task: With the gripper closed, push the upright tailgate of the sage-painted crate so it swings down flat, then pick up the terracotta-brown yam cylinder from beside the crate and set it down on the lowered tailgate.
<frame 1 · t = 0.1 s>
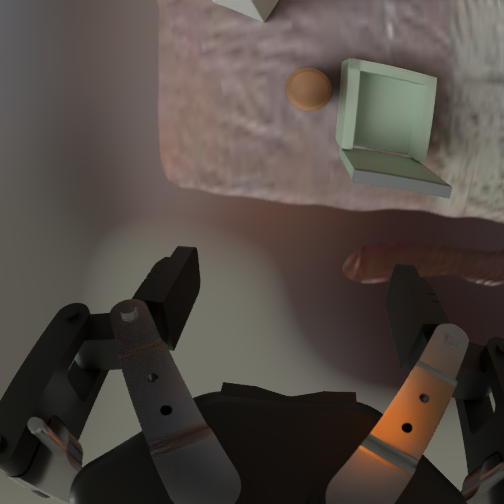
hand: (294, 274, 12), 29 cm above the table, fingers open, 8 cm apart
tailgate: (390, 167, 29), point 8 cm above the table, hinge at 0.0°
yam: (306, 88, 34), on the table
crate: (378, 106, 33), on the table
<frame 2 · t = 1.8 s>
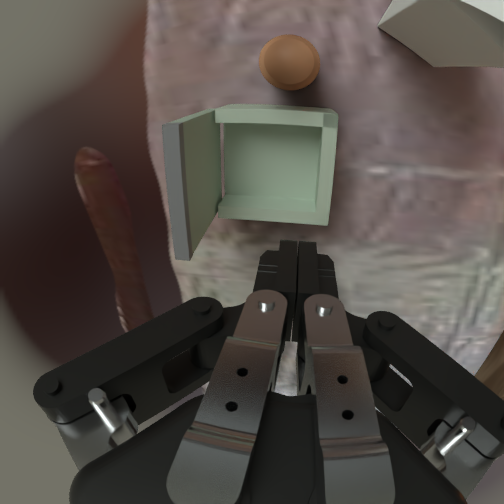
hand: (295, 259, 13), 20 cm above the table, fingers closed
tailgate: (199, 173, 24), point 8 cm above the table, hinge at 0.0°
yam: (291, 67, 26), on the table
milk carton: (419, 23, 21), on the table
crate: (278, 152, 31), on the table
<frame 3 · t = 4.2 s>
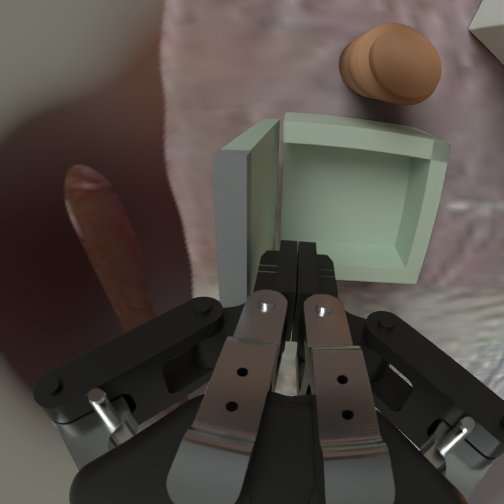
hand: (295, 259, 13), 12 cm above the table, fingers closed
tailgate: (256, 222, 16), point 8 cm above the table, hinge at 3.8°, touching gripper
yam: (370, 68, 18), on the table
crate: (347, 181, 23), on the table
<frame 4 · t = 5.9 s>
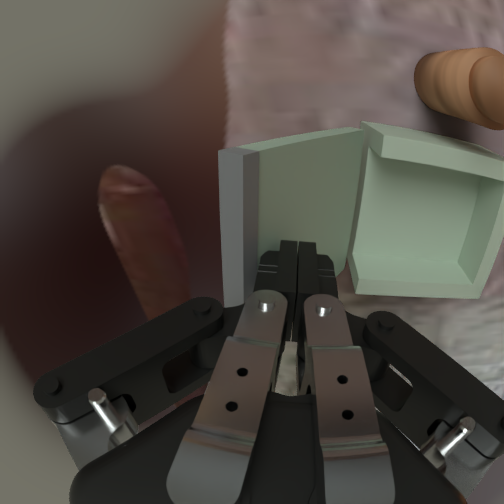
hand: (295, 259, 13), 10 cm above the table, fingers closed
tailgate: (305, 230, 16), point 8 cm above the table, hinge at 32.9°, touching gripper
yam: (441, 82, 17), on the table
crate: (414, 195, 21), on the table
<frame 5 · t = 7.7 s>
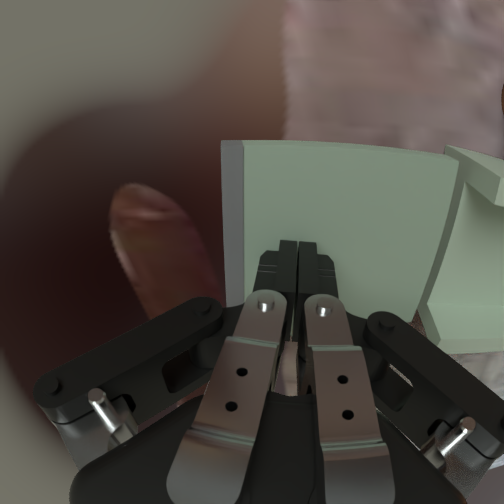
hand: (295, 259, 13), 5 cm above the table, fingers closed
tailgate: (341, 249, 14), point 4 cm above the table, hinge at 76.8°, touching gripper
crate: (489, 232, 16), on the table
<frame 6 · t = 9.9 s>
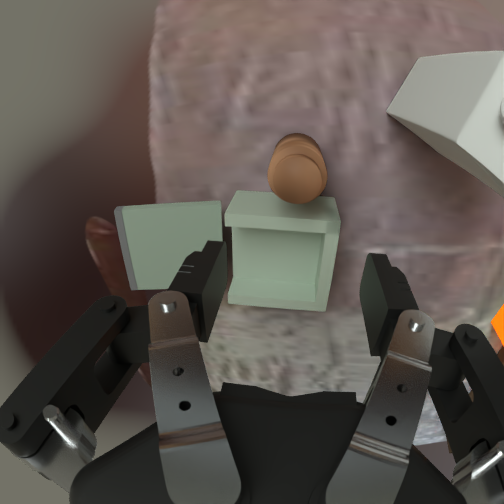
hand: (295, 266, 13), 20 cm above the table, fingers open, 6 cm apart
tailgate: (171, 248, 32), point 4 cm above the table, hinge at 76.8°
yam: (297, 155, 29), on the table
milk carton: (429, 104, 25), on the table
crate: (283, 236, 34), on the table
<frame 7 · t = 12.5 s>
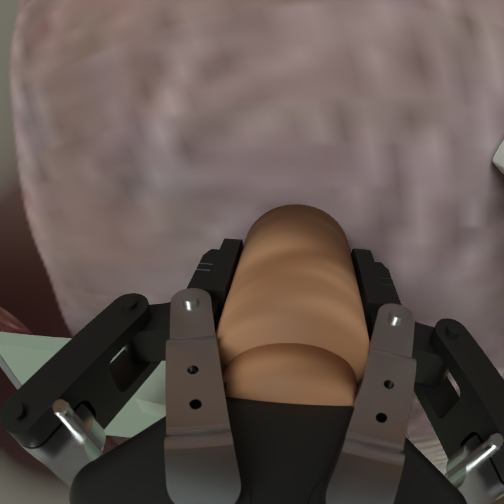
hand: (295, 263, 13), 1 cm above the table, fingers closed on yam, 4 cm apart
tailgate: (81, 394, 16), point 4 cm above the table, hinge at 76.8°
yam: (296, 253, 14), on the table, touching gripper
crate: (265, 376, 18), on the table
when the fingers open (6 cm above the table, at t = 18.0 s): yam stays where it is, resting on tailgate.
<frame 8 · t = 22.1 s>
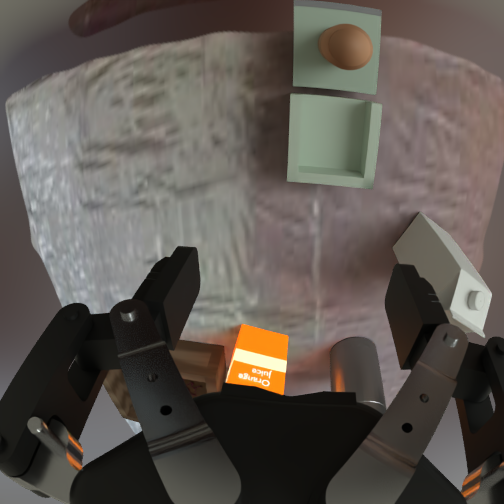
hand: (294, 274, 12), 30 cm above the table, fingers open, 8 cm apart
orange juice: (260, 342, 58), on the table
tailgate: (336, 45, 28), point 4 cm above the table, hinge at 81.7°, touching yam
yam: (338, 45, 28), point 4 cm above the table, tilted 8°, touching tailgate
planter frame: (169, 376, 68), on the table
milk carton: (421, 240, 43), on the table
crate: (329, 133, 37), on the table
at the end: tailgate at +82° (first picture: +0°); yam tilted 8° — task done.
